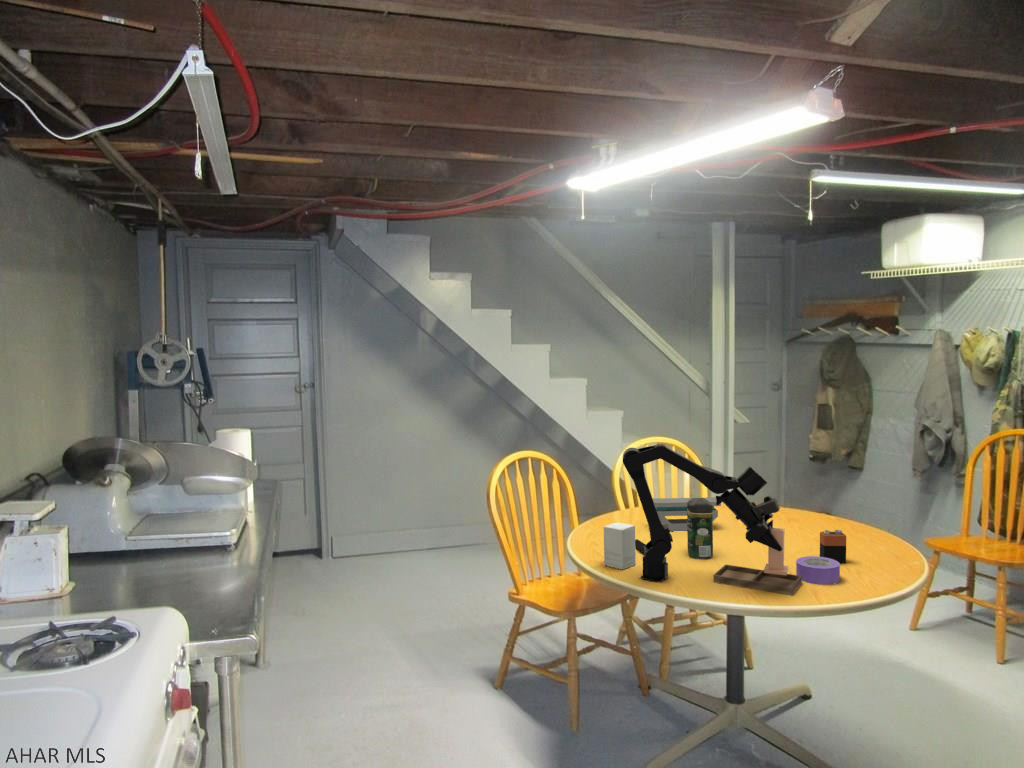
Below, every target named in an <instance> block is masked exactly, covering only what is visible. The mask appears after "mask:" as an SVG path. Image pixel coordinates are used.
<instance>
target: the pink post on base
mask: <svg viewBox="0 0 1024 768" xmlns="http://www.w3.org/2000/svg"><path fill="white" fill-rule="evenodd" d="M771 534H772V535H773V536H774V538H775V539H776V540H777V542H778V543H779V545H780V546H781V547H782V550H781V551H777V550H775V549H773V548H771V547H769V546H767V547H768V549H767V550H768V551H767V552H768V554H767V556H768V558H767V559H768V560H767V563H765V565H764V569H763V570H764V573H770V574H778V575H787V574H788V571H789V565H785V528H778V527H773V528H771Z"/></svg>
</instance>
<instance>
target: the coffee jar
mask: <svg viewBox="0 0 1024 768" xmlns="http://www.w3.org/2000/svg"><path fill="white" fill-rule="evenodd" d="M691 498H692V499H690V500H689V501H688V503H687V516H686V519H687V532H686V533H687V553H688V555H689V556H690V557H691V558H697V559H701V560H704V559H705V560H706V559H709V558H713V555H714V540H713V539H714V535H713V534H714V533H713V532H714V530H713V527H714V526H713V523H714V521H713V506H712V504H711V503H710V502H709V501H708V500H706V499H704V498H705V497H691Z"/></svg>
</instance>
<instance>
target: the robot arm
mask: <svg viewBox="0 0 1024 768" xmlns="http://www.w3.org/2000/svg"><path fill="white" fill-rule="evenodd" d="M657 460H662V461H664V462H665V463H666V462H667V463H668V464H669V465H672V466H673V467H675V468H676V469H678V470H680V471H682V472H684V473H686V474H688V475H689V476H691V477H692V478H694V479H696V480H697V481H698V482H699V483H700V484H702V485H703V486H704V487H706V488H707V489H708V490H709V491H711V493H713V494H716V495H715V498H716V505H719V504H720V503H721V504H722V503H723V504H724V505H725V506H726V507H727V508H728V509H729V510H730V511H731V513H733V515H734V516H735V519H736V520H737V521H739V520H740V522H741V523H742V524H743V525H744V526H745V527H746V528H745V529H746V533H745V539H746V540H747V541H748V542H749V543H750V544H751V543H753V542H757V543H759V544H762V545H764V546H766V547H768V546H769V547H771V548H773V549H775V550H777V551H781V550H782V547H781V546H780V545H779V543H778V542H777V540H776V539H775V538H774V536H773V535H772V534H771V528H774V519H772V518H774V514H776V513H778V512H779V511H780V510H781V507H780V506H779V503H778V500H777V498H775V497H771V496H770V495H766V496H765V497H764V498H763V501H762V502H761V503H758V504H757V503H756V502H755V501H750V500H749V499H748V498H747V497H750V496H752V497H754V496H755V495H757V493H759V492H760V491H761V490H762V489H763V488H764V487H765V486H766V485H767V484H768V482H767V481H766V480H765V479H764V478H763V477H762V476H761V475H760V474H759V473H758V472H756V471H755V470H754V469H753V467H751V466H748V467H747V468H746V469H745V470H744V471H743V472H742V473H741V474H740V475H738V476H737V477H734V476H729V475H725V474H724V473H723V472H721V471H719V470H716V469H713V468H710V467H706V466H703V465H700V464H698V463H697V462H695V461H693V460H691V459H689V458H688V457H685V456H684V455H682V454H680V453H678V452H676V451H675V450H673V449H671V448H669V447H668V446H666V444H664V443H657V444H655V445H650V446H644V447H640V448H635V447H628V448H626V449H625V450H624V452H623V454H622V463H623V465H624V468H625V469H626V471H627V472H628V475H629V477H630V478H631V479H632V482H633V483H634V485H635V490H636V492H637V495H638V498H639V501H640V505H641V507H642V510H643V512H644V516H645V519H646V521H647V525H648V530H649V538H650V540H649V541H648V542H647V543H645V544H646V545H645V546H644V551H645V554H644V555H643V556H642V575H640V579H641V578H642V580H646V581H654V582H658V581H659V582H663V581H664V580H666V579H667V578H668V577H669V563H668V562H667V557H666V555H667V554H669V553H670V552H671V550H672V547H673V545H672V543H673V542H674V539H673V536H672V534H671V531H670V530H669V528H668V524H665V525H664V524H663V523H662V522H661V521H660V519H659V516H658V513H657V510H656V507H655V504H654V501H653V496H652V492H651V490H650V488H649V484H648V481H647V478H646V475H645V468H644V467H645V466H644V465H646V464H648V463H651V462H654V461H657ZM738 488H739V489H740V490H741V491H740V490H739V489H738ZM729 490H731V491H729ZM742 492H743V493H744V494H745V495H746V496H745V495H744V494H743V493H742ZM770 519H771V520H770ZM768 520H770V521H768ZM659 582H658V583H659Z"/></svg>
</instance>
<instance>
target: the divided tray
mask: <svg viewBox="0 0 1024 768" xmlns="http://www.w3.org/2000/svg"><path fill="white" fill-rule="evenodd" d="M712 581H713V583H716V582H717V584H722V585H723V584H724V585H728V586H733V587H741V588H747V589H753V590H757V591H758V590H760V591H765V592H770V593H776V594H783V595H789V596H793V595H794V594H795V593H796V592H797V590H798V589H799V587H800V586H801V585H802V584H803V581H802V576H798V575H796V574H790V573H787V575H778V574H770V573H764V569H758V568H751V567H744V566H739V565H732V564H724V565H723V566H721V568H720V569H718V571H716V572H715V573H713V579H712Z"/></svg>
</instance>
